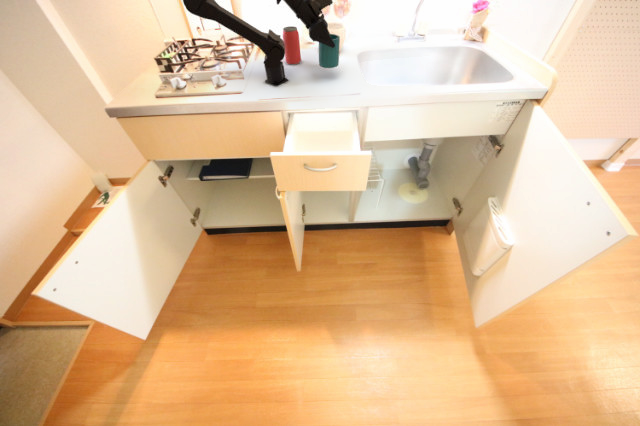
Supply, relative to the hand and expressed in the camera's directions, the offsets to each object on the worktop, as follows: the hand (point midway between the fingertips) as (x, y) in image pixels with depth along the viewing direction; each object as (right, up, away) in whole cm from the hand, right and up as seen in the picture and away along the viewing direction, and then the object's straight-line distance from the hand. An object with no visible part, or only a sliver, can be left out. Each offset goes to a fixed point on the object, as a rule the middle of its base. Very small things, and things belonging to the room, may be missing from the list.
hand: (333, 43), depth 84 cm
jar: (-1, -4, +5) cm, 7 cm away
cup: (+1, +15, +27) cm, 30 cm away
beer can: (-16, +6, +20) cm, 26 cm away
